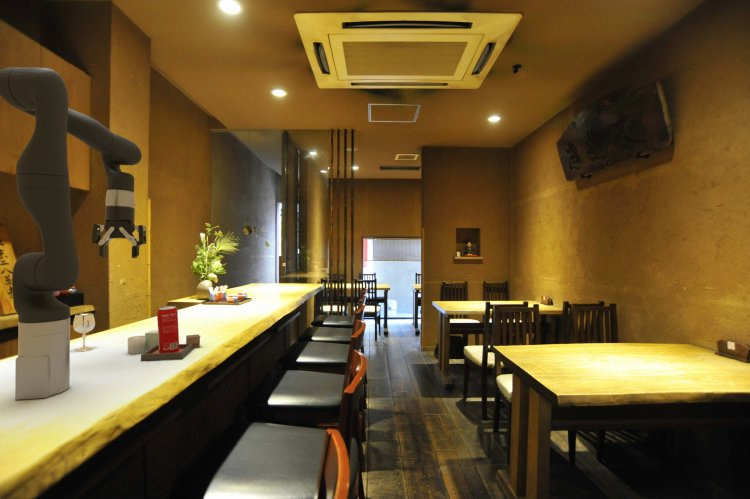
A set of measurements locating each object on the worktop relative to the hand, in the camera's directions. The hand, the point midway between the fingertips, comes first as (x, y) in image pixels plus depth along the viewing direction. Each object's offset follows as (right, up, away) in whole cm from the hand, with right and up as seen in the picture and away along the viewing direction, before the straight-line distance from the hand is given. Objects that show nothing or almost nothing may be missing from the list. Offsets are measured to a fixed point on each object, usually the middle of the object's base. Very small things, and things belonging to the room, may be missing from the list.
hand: (119, 258), depth 114 cm
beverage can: (+13, -31, +4) cm, 34 cm away
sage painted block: (+4, -32, +11) cm, 34 cm away
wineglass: (-19, -32, +10) cm, 38 cm away
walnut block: (+16, -32, +14) cm, 38 cm away
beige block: (+1, -32, +7) cm, 32 cm away
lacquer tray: (+13, -32, +4) cm, 34 cm away
